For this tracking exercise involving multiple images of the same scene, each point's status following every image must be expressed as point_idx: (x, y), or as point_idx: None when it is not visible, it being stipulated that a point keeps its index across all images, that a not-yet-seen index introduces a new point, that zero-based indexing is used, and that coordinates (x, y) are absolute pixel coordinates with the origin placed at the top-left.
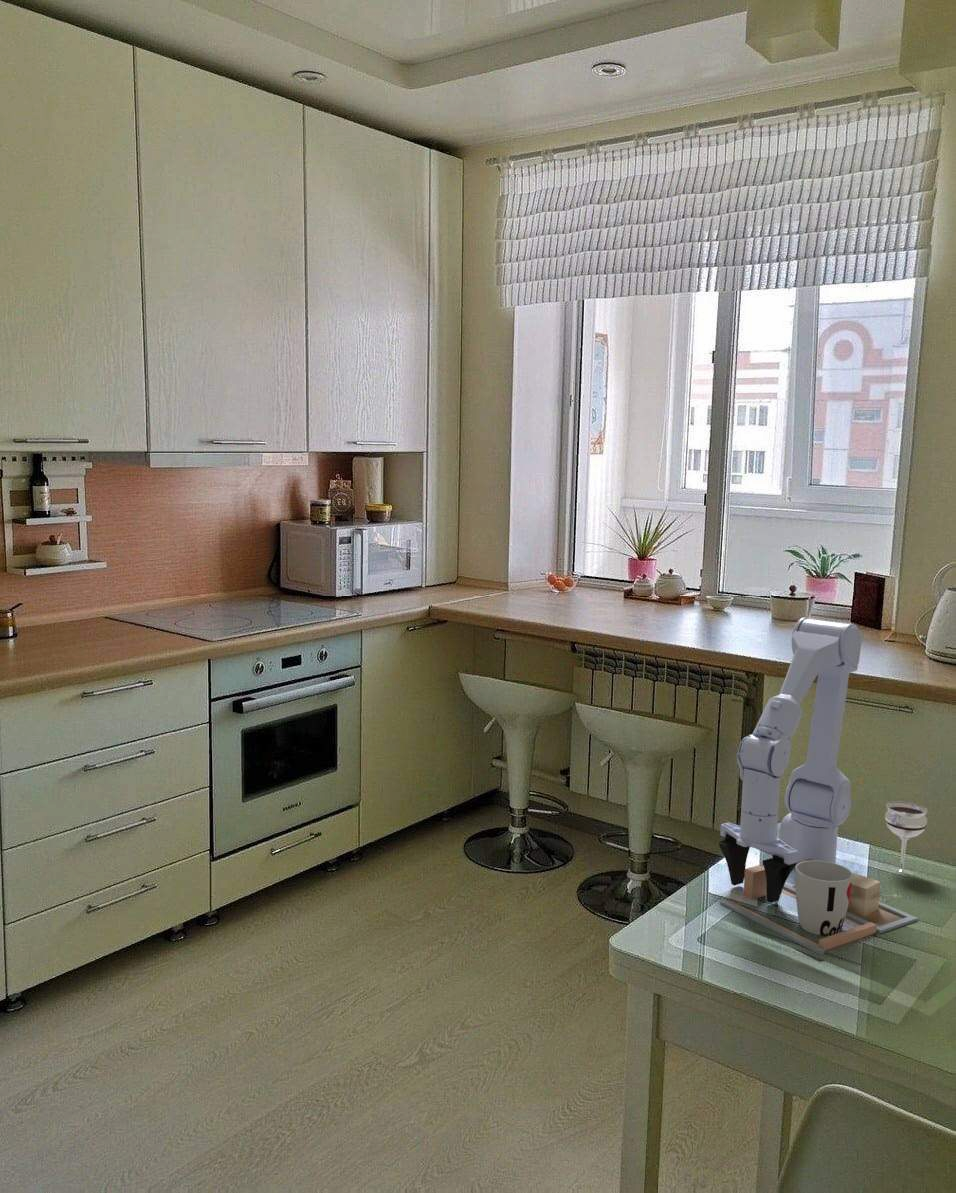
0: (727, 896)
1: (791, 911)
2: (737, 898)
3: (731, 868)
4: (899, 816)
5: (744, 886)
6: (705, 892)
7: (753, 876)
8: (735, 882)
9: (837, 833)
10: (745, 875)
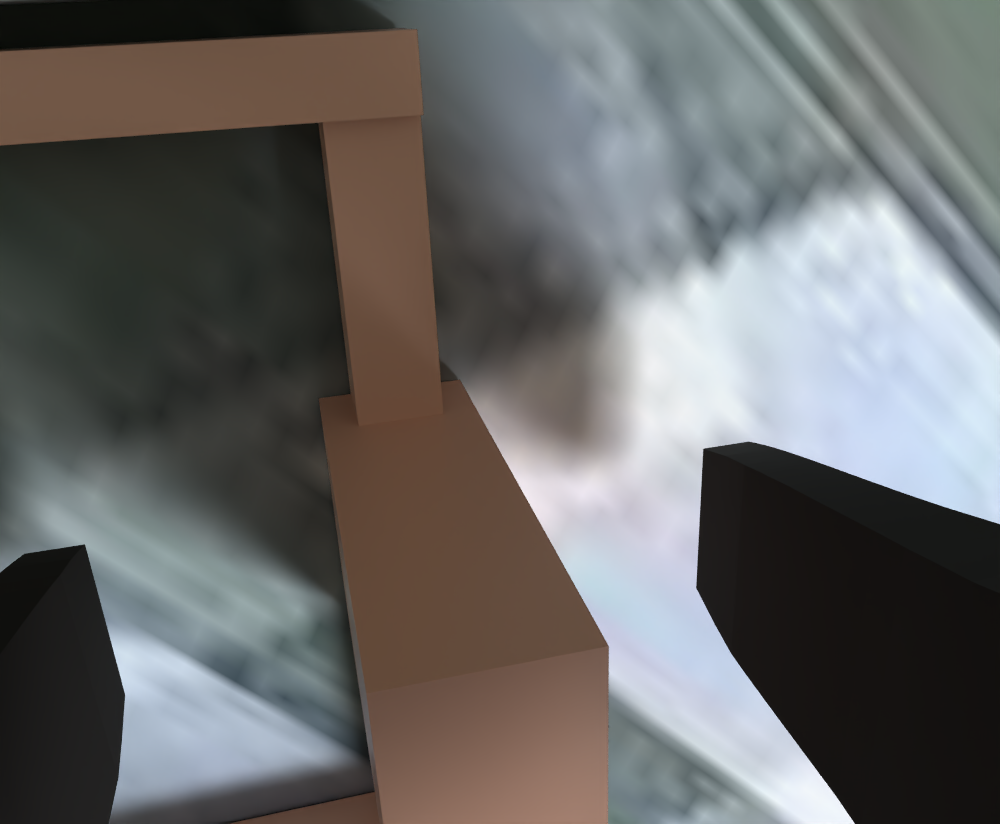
0: (672, 317)
1: None
2: (574, 390)
3: (875, 523)
4: None
5: (499, 473)
6: (886, 143)
7: (362, 648)
8: (719, 483)
9: None
10: (543, 574)
